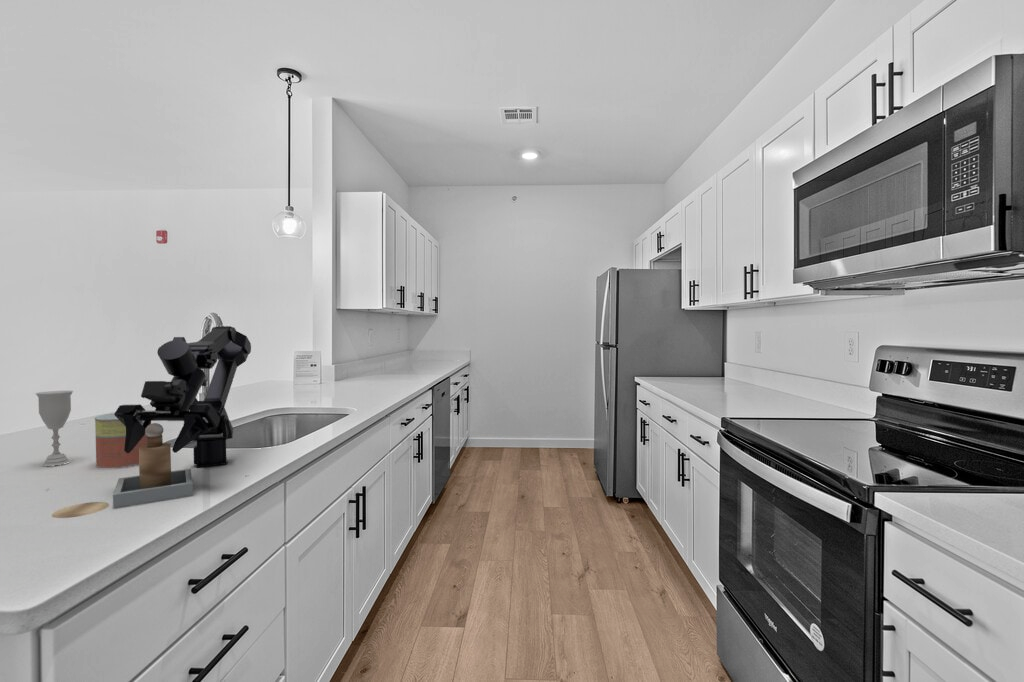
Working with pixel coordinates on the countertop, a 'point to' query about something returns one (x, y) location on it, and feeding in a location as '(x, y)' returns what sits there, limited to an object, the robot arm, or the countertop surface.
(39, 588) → the countertop surface
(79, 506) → the coaster
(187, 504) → the countertop surface
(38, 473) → the countertop surface
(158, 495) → the tray
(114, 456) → the canned food
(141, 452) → the pepper mill
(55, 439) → the chalice
